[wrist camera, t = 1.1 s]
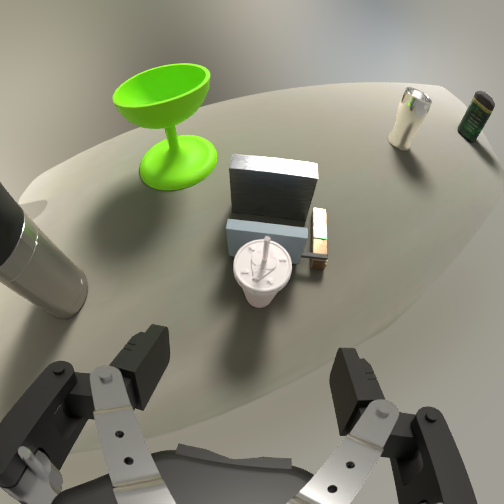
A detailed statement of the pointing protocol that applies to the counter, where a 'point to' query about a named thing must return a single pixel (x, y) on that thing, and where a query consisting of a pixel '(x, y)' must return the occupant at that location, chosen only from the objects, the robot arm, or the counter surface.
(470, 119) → the coffee jar
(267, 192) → the gauge frame
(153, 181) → the wineglass
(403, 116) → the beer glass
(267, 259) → the smoothie
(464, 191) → the counter surface
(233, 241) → the gauge paddle
